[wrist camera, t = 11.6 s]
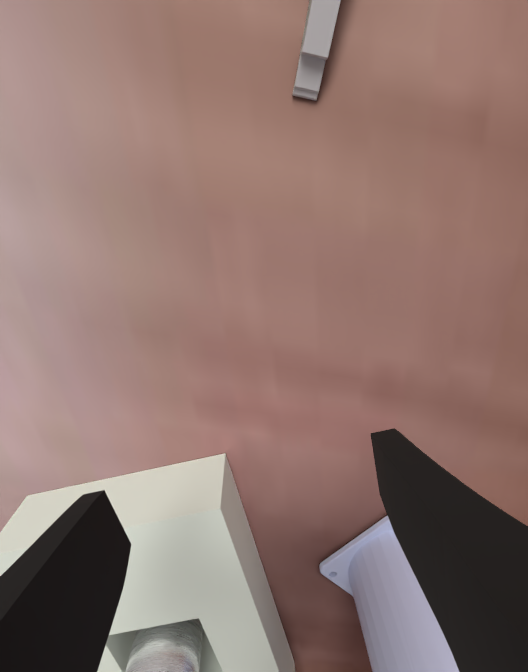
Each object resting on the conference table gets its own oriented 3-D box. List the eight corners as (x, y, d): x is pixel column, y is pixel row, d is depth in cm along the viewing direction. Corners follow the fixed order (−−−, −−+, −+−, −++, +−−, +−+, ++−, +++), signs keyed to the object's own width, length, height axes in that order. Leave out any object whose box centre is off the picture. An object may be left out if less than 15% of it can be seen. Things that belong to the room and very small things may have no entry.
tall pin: (220, 586, 26) (208, 750, 18) (180, 615, 26) (153, 782, 19) (174, 557, 24) (142, 719, 17) (135, 588, 25) (87, 755, 18)
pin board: (294, 661, 29) (300, 732, 25) (143, 689, 29) (127, 762, 26) (225, 453, 22) (220, 508, 18) (27, 495, 22) (-18, 557, 18)
